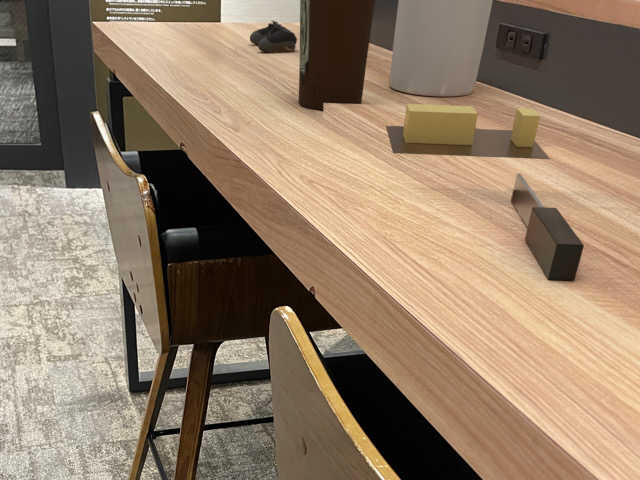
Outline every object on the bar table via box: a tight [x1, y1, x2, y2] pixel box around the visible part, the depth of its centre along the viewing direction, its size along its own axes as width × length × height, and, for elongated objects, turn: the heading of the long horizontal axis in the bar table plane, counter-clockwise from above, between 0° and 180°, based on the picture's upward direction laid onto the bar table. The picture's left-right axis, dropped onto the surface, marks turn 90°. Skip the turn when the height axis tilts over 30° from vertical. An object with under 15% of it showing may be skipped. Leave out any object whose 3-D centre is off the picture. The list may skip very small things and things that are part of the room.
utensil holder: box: [389, 0, 494, 98], centre depth 128 cm, size 15×15×18 cm
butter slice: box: [511, 107, 541, 148], centre depth 98 cm, size 2×4×4 cm, turn 176°
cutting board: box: [385, 125, 551, 160], centre depth 100 cm, size 18×14×2 cm
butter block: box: [403, 103, 479, 145], centre depth 99 cm, size 8×4×4 cm, turn 86°
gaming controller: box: [249, 20, 298, 53], centre depth 163 cm, size 12×8×5 cm, turn 9°
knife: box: [510, 173, 585, 282], centre depth 76 cm, size 22×2×3 cm, turn 176°
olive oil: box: [298, 0, 376, 111], centre depth 115 cm, size 11×11×25 cm
